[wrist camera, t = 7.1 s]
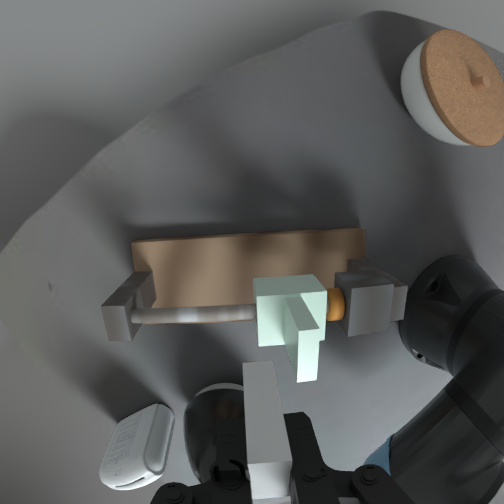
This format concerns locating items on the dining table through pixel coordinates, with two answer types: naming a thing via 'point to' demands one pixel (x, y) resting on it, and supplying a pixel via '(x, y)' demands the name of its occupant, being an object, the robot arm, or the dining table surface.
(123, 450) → the photo printer
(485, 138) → the lidded bowl
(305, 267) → the rod stand
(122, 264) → the dining table surface
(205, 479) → the pump dispenser
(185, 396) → the dining table surface
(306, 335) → the pale green block
